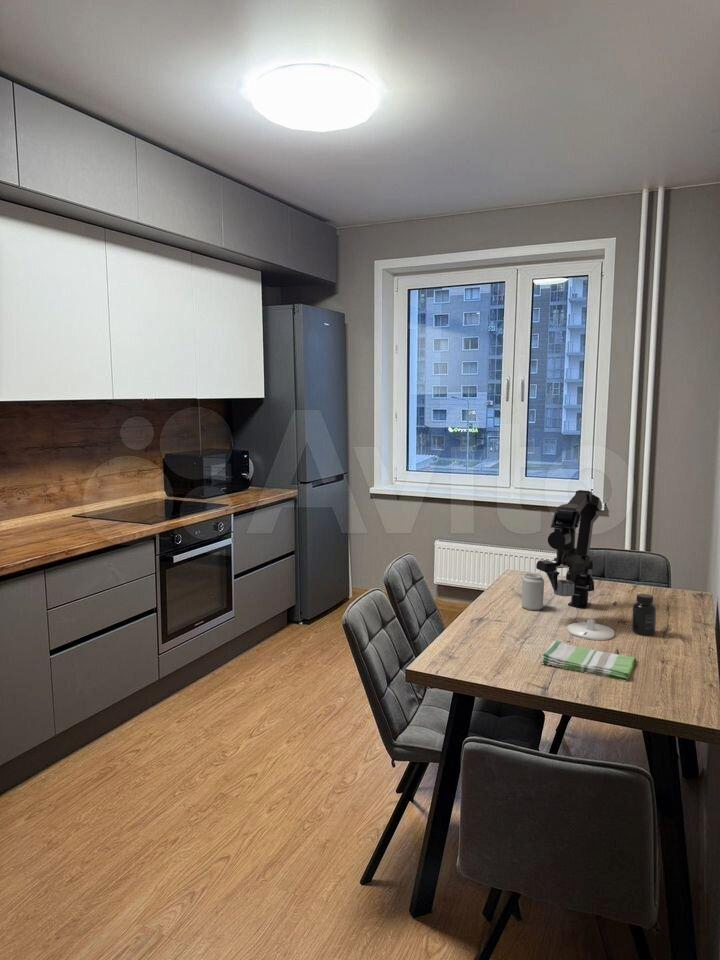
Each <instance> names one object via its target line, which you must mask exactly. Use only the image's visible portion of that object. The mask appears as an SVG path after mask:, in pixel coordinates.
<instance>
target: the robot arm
mask: <svg viewBox="0 0 720 960" xmlns="http://www.w3.org/2000/svg"><path fill="white" fill-rule="evenodd" d="M602 509H603V502H602V500H601V498H600V497H598V496H597V495H594V494H593V492H592V491H590V490H581V489H579V490H576V491H575V493H574V496H572V498H571V499H570V500H569V501H568V502H567V503H565V504H560V505H559V506H558V507H556V509H554V513H553V514H554V515H553V516H552V521H551V524H550V528H553V532H550V534H549V535H548V537H547V544H548V546H550V548H552V549H555V550H556V557H554V558H553V561H551V560H548V559H544V560H543V559H542V560H541V559H540V560H538V561H537V562H536V566H535V568H536V570H538V571H541V572H543V573H546V575H547V577H548V579H549V581H550V584H551V586H552V588H553V592H554V591H557V580H559V579H558V577H559V575H560V572H559V571H558V569H563V568H565V569H566V568H568V571H567V572H566V574H565V580H569V581H573V582H574V583H575V584H574V595H573V596H570V597H571V599H570V602H568V603H567V606H571V607H577V608H581V609H586V608H588V607H590V606H591V605H592V602H589V592H593V591H595V580H594V577H593V575H592V572H593V571H592V570H594V562H593V561H592V560H591V557H590V550H591V543H592V534H593V528H594V523H595V522H596V521H597V520H598V518H599V517H600V514H601V513H600V512H601V511H602ZM577 528H578V534H577V542H576V532H577V531H576V530H577Z"/></svg>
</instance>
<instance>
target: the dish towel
mask: <svg viewBox="0 0 720 960" xmlns="http://www.w3.org/2000/svg"><path fill="white" fill-rule="evenodd" d="M542 656H543V658H542V659H541V660H540V662H541V663H544V664H543V665H545V664H549V665H548V666H550V665H553V666H552V667H554V666H557V667H556V668H559V667H560V668H559V669H563V668H567V669H566V670H568V669H571V670H570V671H573V670H577V671H576V672H578V671H583V672H587V673H586V674H588V673H590V674H589V675H593V674H596V675H595V676H597V675H600V676H599V677H602V676H604V678H607V677H609V679H613V680H619V681H623V680H626V681H625V682H628V680H629V679H628V678H630V677H631V674H632V672H633V669H634V666H635V663H636V662H637V658H636V657H634V656H630V655H623V654H616V653H611V652H605V651H599V650H594V649H591V648H585V647H580V646H574V645H570V644H566V643H563V642H562V641H559V640H553V641H552V642H551V643H550V645H549V647H547V649H546V650H545V651H544V652H542ZM583 672H582V673H583ZM620 679H621V680H620Z"/></svg>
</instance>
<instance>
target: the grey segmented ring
mask: <svg viewBox="0 0 720 960" xmlns="http://www.w3.org/2000/svg"><path fill="white" fill-rule="evenodd" d="M574 584H575V583H574V582H573V581H569V580H566V579H557V591H554V590H553V594H554V595H556V596H559V597H571V596H573V595H574Z"/></svg>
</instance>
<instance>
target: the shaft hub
mask: <svg viewBox="0 0 720 960" xmlns="http://www.w3.org/2000/svg"><path fill="white" fill-rule="evenodd" d="M567 632H568V634H570V635H572V636H573V637H575V638H579V639H583V638H584V639H583V640H588V639H590V641H608V640H612V639H613V638H614V637H615V630H613V629H612V628H611V627H610V626H606V625H604V624H599V623H596V622H595V619H591V618H588V619H587V620H586V622H584V621H583V622H580V621H579V622H573V623H570V624H568V625H567Z"/></svg>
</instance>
